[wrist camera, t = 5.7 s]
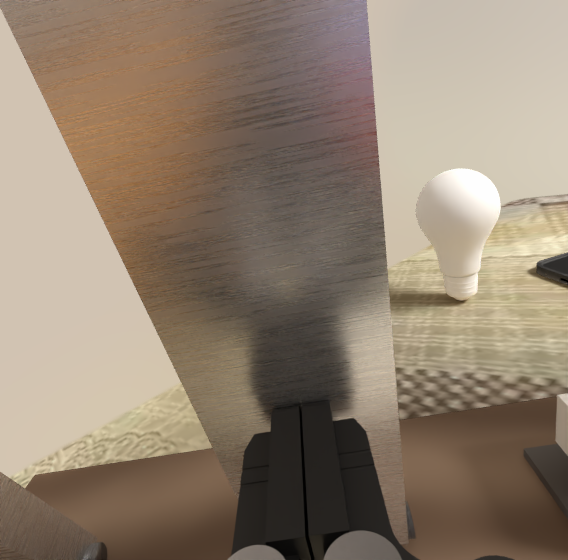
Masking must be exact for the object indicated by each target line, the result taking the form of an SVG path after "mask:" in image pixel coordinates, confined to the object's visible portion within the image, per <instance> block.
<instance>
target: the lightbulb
mask: <svg viewBox="0 0 568 560" xmlns="http://www.w3.org/2000/svg"><path fill="white" fill-rule="evenodd" d="M500 209H501V207H500V198H499V194H498V191H497V189H496V187H495V186H494V184H493V183H492V182H491V181H490V180H489V179H488V178H487V177H486V176H485V175H483V174H481V173H479V172H477V171H474V170H470V169H452V170H448V171H445V172H442V173H440V174H439V175H437V176H436V177H434V178H433V179H431V180H430V181H429V182H428V183H427V184H426V185H425V187H424V188H423V190H422V192H421V193H420V195H419V198H418V201H417V205H416V217H417V220H418V223H419V226H420V228H421V229H422V231H423V232H424V234H425V236H426V237H427V238H428V240H429V241H430V242H431V244H432V245H433V247H434V249H435V251H436V254H437V257H438V261H439V267H440V271H441V272H442V273H443V278H444V287H445V292H446V293H447V295H449V296H450V297H453V298H455V299H456V300H466V299H468V297H471V296H473V295H475V294H476V292H477V284H478V271H479V270H480V268H481V256H482V251H483V248H484V245H485V242H486V240H487V238H488V236H489V235H490V233H491V231H492V230H493V228H494V226H495V224H496V222H497V220H498V218H499V213H500Z"/></svg>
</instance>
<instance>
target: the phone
mask: <svg viewBox="0 0 568 560" xmlns="http://www.w3.org/2000/svg"><path fill="white" fill-rule="evenodd" d="M537 273H538V274H539V275H541V276H544V277H547V278H550V279H553V280H555V281H558V282H561V283H564V284H566V285H568V283H567V282H565V281H562V280H561V278H563V279H566V280H568V253H564V254H561V255H558V256H554V257H551V258H548V259H544V260H541V261H539V262H537ZM546 274H547V275H546Z"/></svg>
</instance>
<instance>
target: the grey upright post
mask: <svg viewBox="0 0 568 560" xmlns="http://www.w3.org/2000/svg"><path fill="white" fill-rule="evenodd" d="M97 539H98V538H97V537H96V536H94V535H93V534H91V533H90V532H88V531H87V530H85V529H84V528H82V527H81V526H79V525H78V524H76V523H75V522H73V521H72V520H71V519H69V518H68V517H66V516H65V515H63V514H62V513H60V512H59V511H57V510H56V509H54V508H53V507H51V506H50V505H48V504H47V503H45V502H44V501H42V500H41V499H39V498H38V497H37V496H35V495H34V494H32V493H31V492H29V491H28V490H26V489H25V488H23V487H22V486H20V485H19V484H17V483H16V482H14V481H13V480H11V479H10V478H8V477H7V476H5V475H4V474H2V473H1V472H0V560H107V548H106V545H105V544H104V543H103V542H97Z"/></svg>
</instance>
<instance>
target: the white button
mask: <svg viewBox="0 0 568 560" xmlns="http://www.w3.org/2000/svg"><path fill="white" fill-rule="evenodd" d="M555 441H556V442H557V444H558V445H559V446H560V447H561V448H562V450H563V451H564V452H565V453H566V454H567V456H568V393H566V394H560V395H557V414H556V439H555Z"/></svg>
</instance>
